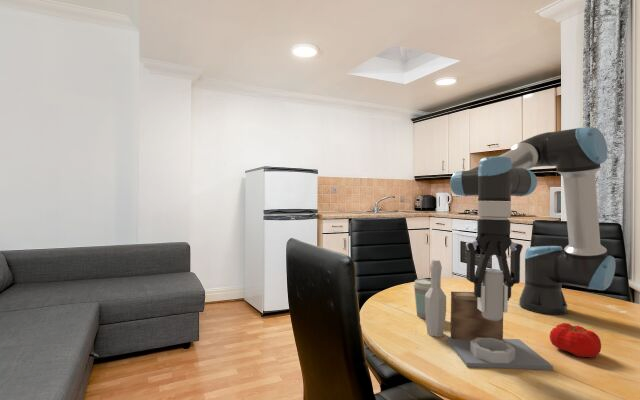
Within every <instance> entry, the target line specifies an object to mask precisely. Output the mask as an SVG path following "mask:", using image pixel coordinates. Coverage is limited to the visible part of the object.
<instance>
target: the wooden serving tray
mask: <svg viewBox="0 0 640 400" xmlns="http://www.w3.org/2000/svg"><path fill="white" fill-rule="evenodd" d="M509 301H510V298H508V302H509ZM477 304H478V297H476V296H475V295H474V291H450V337H451V338H452V339H475V338H477V337H479V338H494V339H498V340H503V339H504V317H503V318H502V319H501V320H499V321H494V320H488V319H486V318H484V317H483V316H482V312H481V311H480V310H479V309H477Z"/></svg>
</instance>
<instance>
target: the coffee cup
mask: <svg viewBox="0 0 640 400" xmlns="http://www.w3.org/2000/svg"><path fill="white" fill-rule="evenodd" d="M412 287H413V288H414V296H415V297H414V299H415V307H416V308H415V309H416V310H415V311H416V316H417V317H418V318H420V319H424V320H426V316H425V294H426V293H427V291H428V290H429V289H430V288H431V279H429V278H427V279H426V278H419V279H417V278H416V279H415V280H414V283H413V286H412Z"/></svg>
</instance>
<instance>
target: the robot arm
mask: <svg viewBox="0 0 640 400" xmlns="http://www.w3.org/2000/svg"><path fill="white" fill-rule="evenodd" d="M607 159H608V144H607V142H606V139H605V136H604V133H602V131H601V130H600V129H599V128H597V127H593V126H592V127H591V126H590V127H589V126H588V127H576V128H571V129H564V130H558V131H550V132H549V131H547V132H544V133H539V134H536V135H533V136H531V137H529V138H527V139H525V140H522V141H520V142H518V143H516V144H514V145H513V146H511V148H510V150H508V151H506V152H505V153H502V154H500V155H498V156H487V157H482V158H481V159H480V160H479V162H478V166H475V167H474V168H471V169H469V170H460V171H456V172H454V173H453V174H452V176H451V177H450V182H449V185H450V190H451V191H452V193H453V194H454V195H456V196H461V197H462V196H464V197H472V196H473V197H475V196H476V197H478V198H477V216H478V217H480V218H478V219H477V225H476V226H477V227H476V228H477V229H476V230H477V233H476V234H477V236H476V238H475V240H473V241H470V242H469V241H466V242H464V246H465V250H466V280H467V281H469V282H470V283H473V292H474V295H475V296H476V297H478V304H477V309H479V310H480V311H481V312H485V285H483V284H482V282H483V278H484V274H485V271H486V269H487V267H488V263H489V261H490V258H491V256H495V257H496V258H497V262H498V265H499V270H501V271H503V274H504V281H503V313H506V314H507V313H508V303H509V301H508V298H509V299H511V298H512V287H514V285H516V284H519V283H520V281H521V278H520V277H521V276H520V275H521V272H520V271H521V252H522V250H523V247H524V246H523V244H521V243H518V242H514V241H513V240H512V239H511V220H510V219H509V218H510V217H512V216H511V213H512V212H511V211H512V210H511V208H512V200H511V199H512V198H511V197H525V196H528V195H531V194H532V193H533V192H534V191H535V190H536V188H537V185H538V179H537V176H536V174H535V173H534V172H533V171H531V170H530V169H532V168H537V167H556V172H557V173H558V174H559V175H560V176H562V181H563V182H562V183H563V190H564V192H563V193H564V202H565V203H564V204H565V213H566V224H567V234H568V235H567V236H568V245H566V246H565V247H564V248H563V246H561V245H559V246H558V245H540V246H537V245H536V246H530V247H527V248H526V249H525V255H524V256H525V257H524V287H523V289H522V291H521V294H520V297H519V300H518V301H519V303H518V305H519V306H520V307H521V308H522V309H525V310H527V311H530V312H531V311H532V312H535V313H540V314H547V315H563V314H567V313H568V304H567V302H566V299H565V296H564V293H563V290H562V286H563V285H566V286H567V285H568V286H571V287H572V286H573V287H579V288H584V289H588V290H597V291H605V290H606V289H608V288H609V287H610V286H611V284H612V283H613V279H614V277H615V273H616V267H617V265H616V258H615V257H614V256H613V255H608V250H607V248H606V247H605V246H603V245H602V244H601V235H600V233H601V232H600V225H599V224H600V223H599V222H600V221H599V210H598V209H599V207H598V195H597V183H596V182H597V181H596V173H597V172H598V171H599V170H600V169H601V164H603V163H605V162H606V160H607ZM477 246H478V248H479V249H480V253H479V260H478V263H477V267H476V250H477ZM508 249H510V263H508V256H507V250H508ZM509 264H510V266H509ZM509 268H510V269H509ZM562 284H563V285H562Z"/></svg>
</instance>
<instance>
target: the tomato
mask: <svg viewBox="0 0 640 400" xmlns="http://www.w3.org/2000/svg"><path fill="white" fill-rule="evenodd" d="M549 340H550V343H551V344H552V346H554V347H555V348H556V349H558V350H561V351H563V352H566V353H567V352H568V353H570V354H572V355H574V356H576V357H580V358H594V357H597V356H598V355H599V354H600V353H601V350H602V344H601V343H602V341H601V339H600V336H599V335H598V334H597V333H596V332H594V331H592V330H590V329H588V328H585V327H583V326H581V325H572V324H571V323H569V322H568V323H567V322H563V323H559V324H557V325H556V326H555V327H553V328H552V329H551V330H550V333H549Z"/></svg>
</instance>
